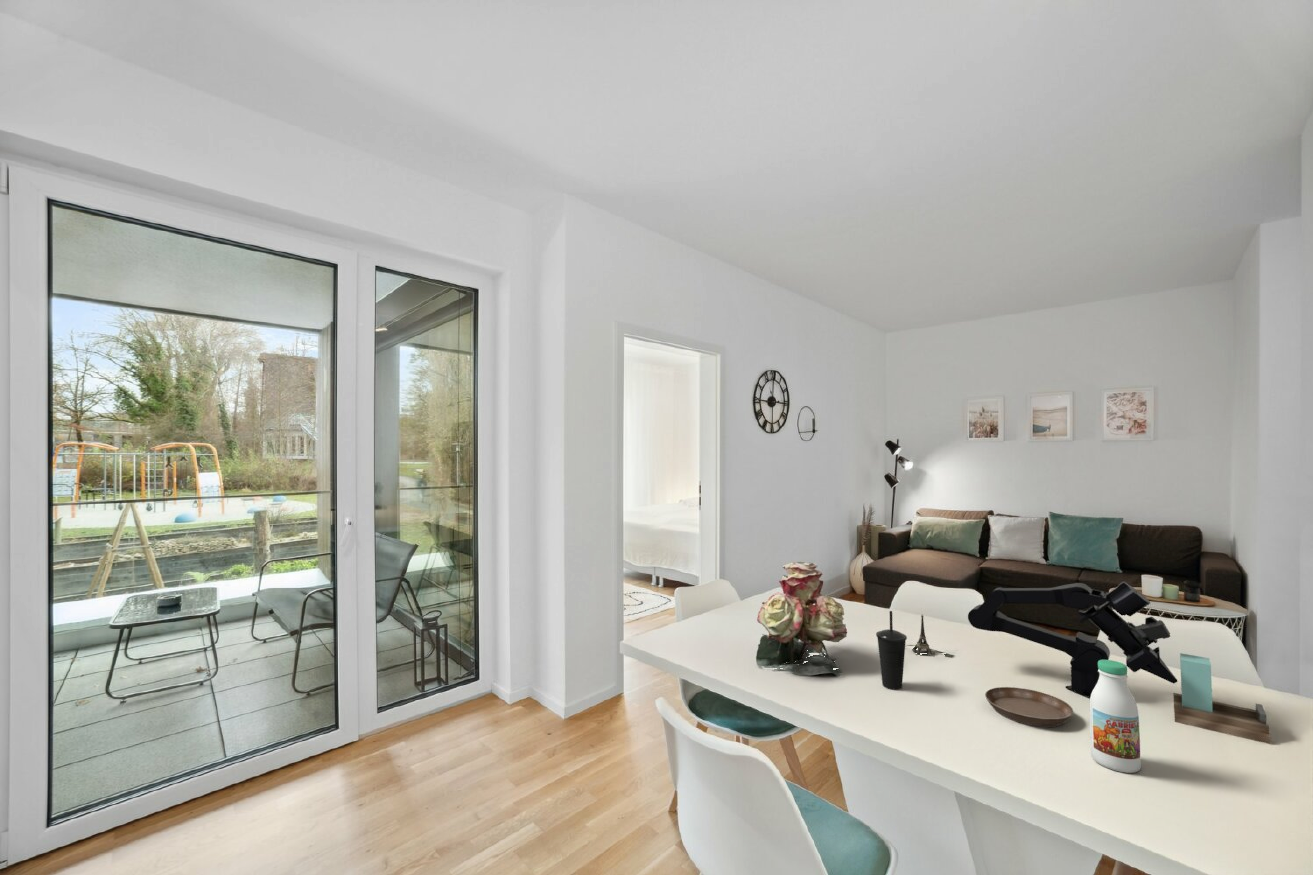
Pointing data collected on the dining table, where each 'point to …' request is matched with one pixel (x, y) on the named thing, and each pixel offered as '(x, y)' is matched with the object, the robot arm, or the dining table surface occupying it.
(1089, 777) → the dining table surface
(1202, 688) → the block
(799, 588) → the rose bouquet
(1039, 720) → the plant saucer
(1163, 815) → the dining table surface
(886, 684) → the drinking cup
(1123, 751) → the milk bottle
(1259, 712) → the chute
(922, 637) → the eiffel tower figurine
